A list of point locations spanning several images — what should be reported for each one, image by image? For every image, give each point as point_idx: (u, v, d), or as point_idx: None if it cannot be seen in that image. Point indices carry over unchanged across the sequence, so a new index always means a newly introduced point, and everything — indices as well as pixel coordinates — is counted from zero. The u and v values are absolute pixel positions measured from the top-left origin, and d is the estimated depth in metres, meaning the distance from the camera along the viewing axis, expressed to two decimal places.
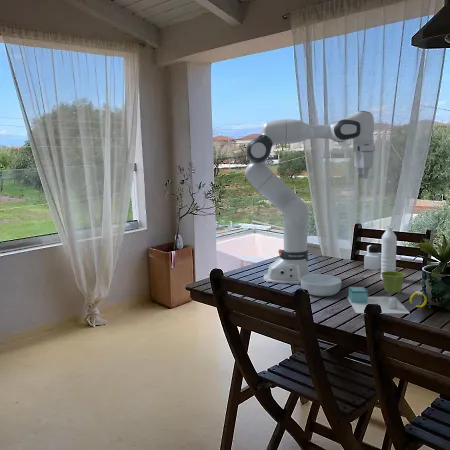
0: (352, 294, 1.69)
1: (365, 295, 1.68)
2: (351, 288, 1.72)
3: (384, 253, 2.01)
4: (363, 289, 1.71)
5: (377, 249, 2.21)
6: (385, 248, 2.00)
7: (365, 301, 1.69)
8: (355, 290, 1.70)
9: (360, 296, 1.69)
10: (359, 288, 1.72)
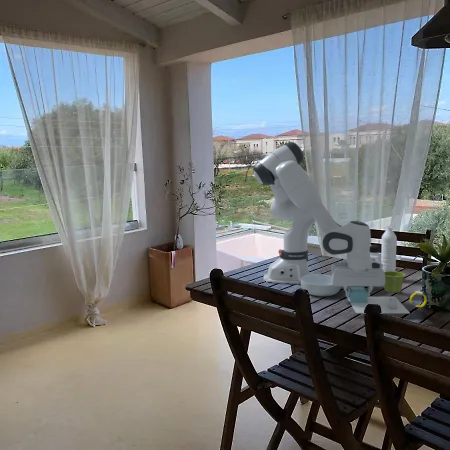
0: (352, 294, 1.69)
1: (365, 295, 1.68)
2: (351, 288, 1.72)
3: (384, 253, 2.01)
4: (363, 289, 1.71)
5: (377, 249, 2.21)
6: (385, 248, 2.00)
7: (365, 301, 1.69)
8: (355, 290, 1.70)
9: (360, 296, 1.69)
10: (359, 288, 1.72)
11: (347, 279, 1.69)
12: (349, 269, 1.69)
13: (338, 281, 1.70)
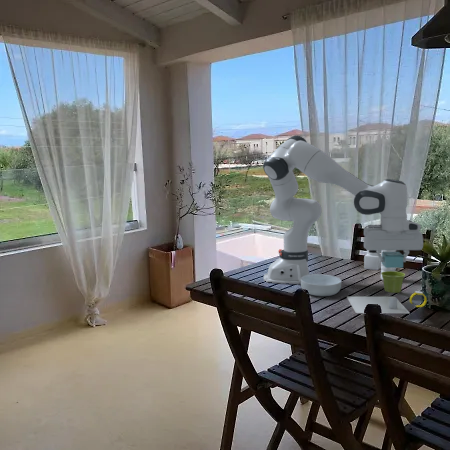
0: (387, 258, 1.56)
1: (401, 259, 1.56)
2: (385, 253, 1.60)
3: None
4: (398, 253, 1.58)
5: None
6: None
7: (401, 266, 1.56)
8: (390, 254, 1.57)
9: (395, 260, 1.56)
10: (394, 253, 1.59)
11: (381, 242, 1.57)
12: (384, 231, 1.56)
13: (371, 244, 1.57)
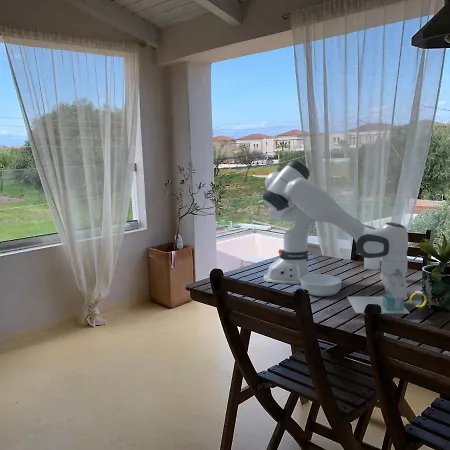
0: (403, 301, 1.59)
1: None
2: (392, 298, 1.59)
3: None
4: (392, 294, 1.63)
5: None
6: None
7: None
8: None
9: None
10: (390, 295, 1.62)
11: None
12: None
13: None
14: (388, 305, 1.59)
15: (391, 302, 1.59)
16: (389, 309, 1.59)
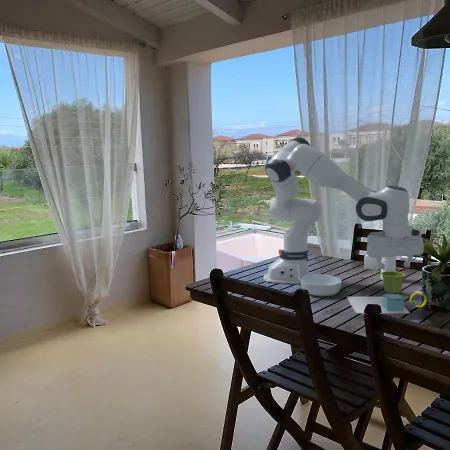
0: (403, 301, 1.59)
1: None
2: (392, 298, 1.59)
3: None
4: (392, 294, 1.63)
5: None
6: None
7: None
8: (399, 297, 1.60)
9: None
10: (390, 295, 1.62)
11: (385, 249, 1.57)
12: (387, 238, 1.56)
13: (376, 252, 1.57)
14: (388, 305, 1.59)
15: (391, 302, 1.59)
16: (389, 309, 1.59)
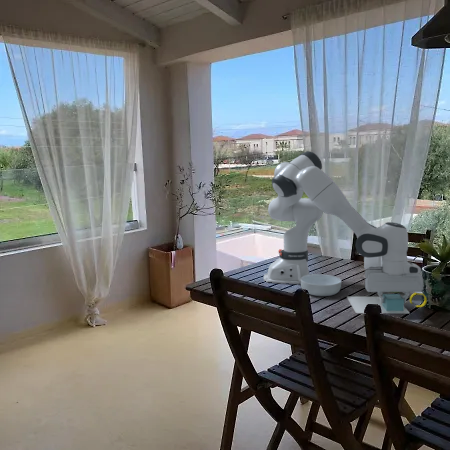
0: None
1: None
2: (392, 298, 1.59)
3: None
4: (392, 294, 1.63)
5: None
6: None
7: None
8: (398, 297, 1.60)
9: None
10: (390, 295, 1.62)
11: (382, 284, 1.59)
12: (385, 274, 1.59)
13: (373, 286, 1.60)
14: (388, 305, 1.59)
15: (391, 302, 1.59)
16: (389, 309, 1.59)
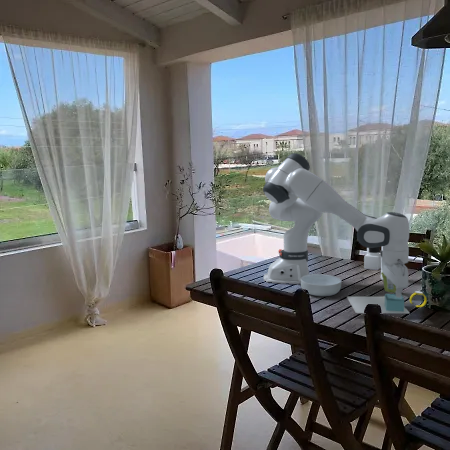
0: None
1: None
2: (401, 297, 1.60)
3: None
4: (388, 295, 1.62)
5: (377, 249, 2.21)
6: None
7: None
8: None
9: None
10: (392, 297, 1.61)
11: None
12: None
13: None
14: (403, 305, 1.59)
15: None
16: None
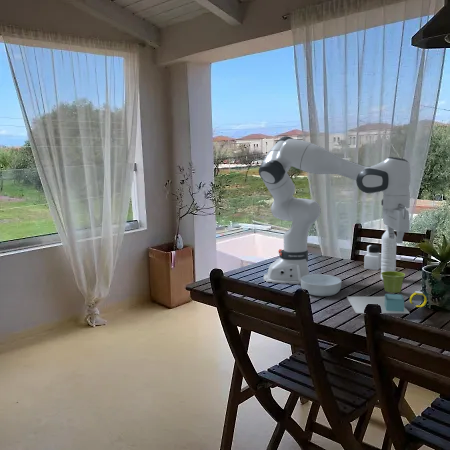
0: None
1: None
2: (401, 297, 1.60)
3: (384, 253, 2.01)
4: (388, 295, 1.62)
5: (377, 249, 2.21)
6: (385, 248, 2.00)
7: None
8: (397, 295, 1.63)
9: None
10: (392, 297, 1.61)
11: None
12: None
13: None
14: (403, 305, 1.59)
15: None
16: None
